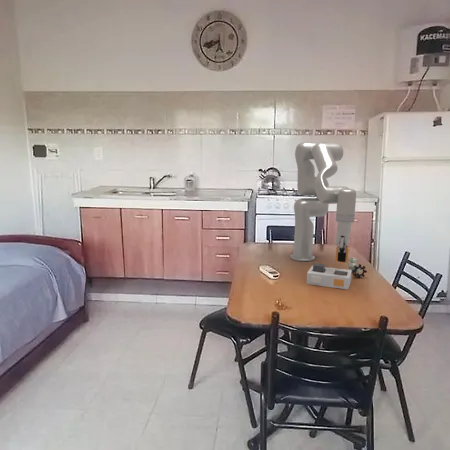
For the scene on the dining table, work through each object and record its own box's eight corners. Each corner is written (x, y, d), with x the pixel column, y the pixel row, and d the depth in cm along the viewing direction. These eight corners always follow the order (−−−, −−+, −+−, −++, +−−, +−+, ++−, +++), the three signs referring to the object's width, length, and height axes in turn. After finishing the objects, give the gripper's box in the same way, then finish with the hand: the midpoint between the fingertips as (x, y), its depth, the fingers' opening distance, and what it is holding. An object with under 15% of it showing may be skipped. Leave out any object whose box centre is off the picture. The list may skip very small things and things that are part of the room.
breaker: (314, 272, 194) (314, 262, 193) (324, 273, 192) (325, 264, 192) (312, 275, 190) (313, 265, 189) (322, 276, 188) (323, 266, 187)
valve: (343, 270, 208) (351, 278, 197) (344, 257, 207) (353, 264, 195) (357, 270, 208) (366, 278, 197) (358, 257, 207) (367, 264, 195)
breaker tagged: (335, 280, 191) (336, 270, 190) (346, 281, 190) (346, 271, 189) (334, 283, 187) (334, 273, 186) (345, 284, 186) (345, 274, 185)
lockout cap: (337, 258, 189) (338, 242, 188) (348, 260, 188) (350, 243, 186) (335, 261, 185) (336, 245, 183) (347, 263, 183) (348, 246, 182)
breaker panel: (311, 275, 199) (312, 265, 198) (351, 281, 193) (351, 270, 192) (306, 284, 188) (307, 273, 186) (348, 289, 181) (349, 278, 180)
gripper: (338, 214, 192) (335, 254, 195) (333, 220, 176) (330, 263, 180) (356, 215, 189) (353, 256, 192) (352, 222, 173) (349, 266, 177)
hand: (342, 259), depth 186 cm, fingers closed on lockout cap, 4 cm apart
